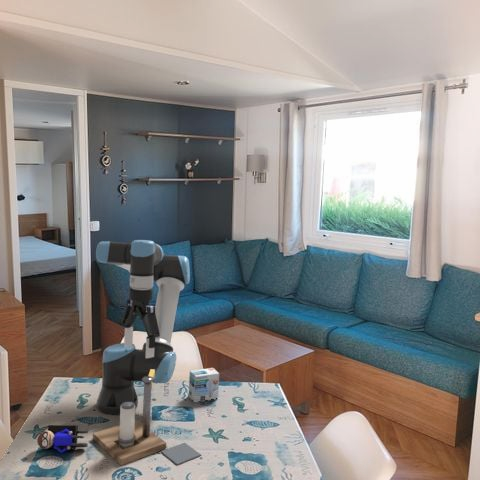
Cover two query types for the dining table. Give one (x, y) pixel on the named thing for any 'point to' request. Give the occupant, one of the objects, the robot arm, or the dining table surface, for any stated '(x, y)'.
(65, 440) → the character figurine
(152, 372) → the bar
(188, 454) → the mat
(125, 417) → the plug
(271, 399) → the dining table surface
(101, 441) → the socket board
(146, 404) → the post
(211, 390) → the light bulb box
